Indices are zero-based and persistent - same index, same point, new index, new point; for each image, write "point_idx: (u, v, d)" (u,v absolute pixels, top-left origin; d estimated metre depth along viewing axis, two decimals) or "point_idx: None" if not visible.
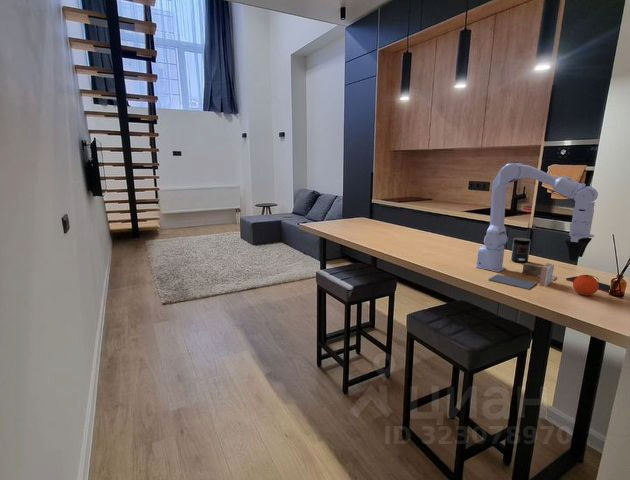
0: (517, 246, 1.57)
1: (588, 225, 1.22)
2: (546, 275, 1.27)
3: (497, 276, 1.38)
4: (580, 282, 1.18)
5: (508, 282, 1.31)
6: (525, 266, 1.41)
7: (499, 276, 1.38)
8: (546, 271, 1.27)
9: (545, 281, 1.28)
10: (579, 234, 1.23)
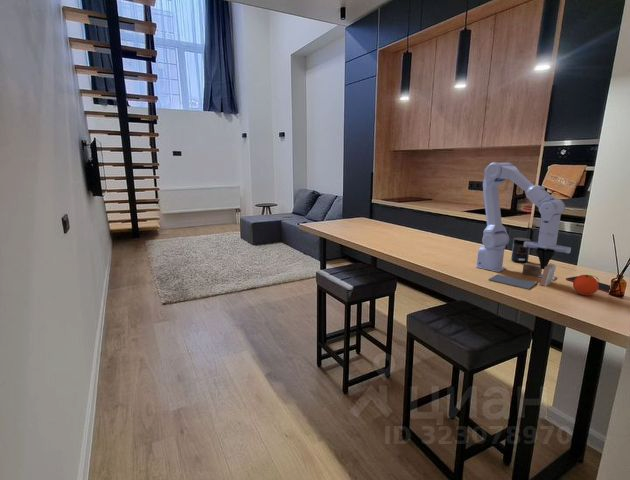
0: (517, 246, 1.57)
1: (541, 235, 1.28)
2: (548, 275, 1.27)
3: (497, 276, 1.38)
4: (580, 282, 1.18)
5: (508, 282, 1.31)
6: (525, 266, 1.41)
7: (499, 276, 1.38)
8: (548, 271, 1.27)
9: (546, 281, 1.28)
10: (537, 243, 1.31)
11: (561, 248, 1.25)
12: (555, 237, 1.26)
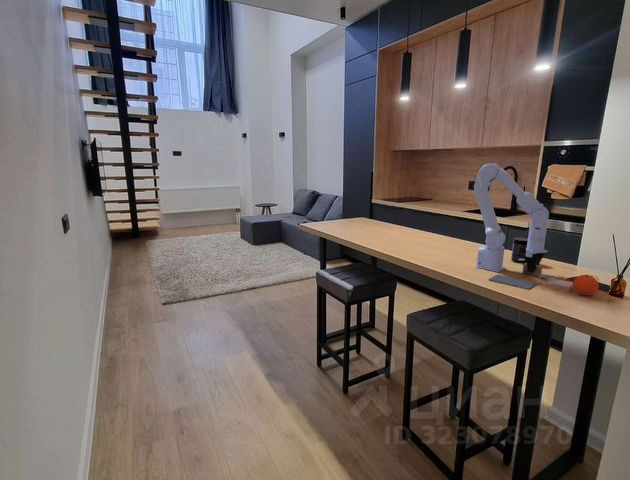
0: (517, 246, 1.57)
1: (541, 242, 1.36)
2: None
3: (497, 276, 1.38)
4: (580, 282, 1.18)
5: (508, 282, 1.31)
6: (525, 266, 1.41)
7: (499, 276, 1.38)
8: (564, 290, 1.24)
9: None
10: (534, 250, 1.37)
11: None
12: None
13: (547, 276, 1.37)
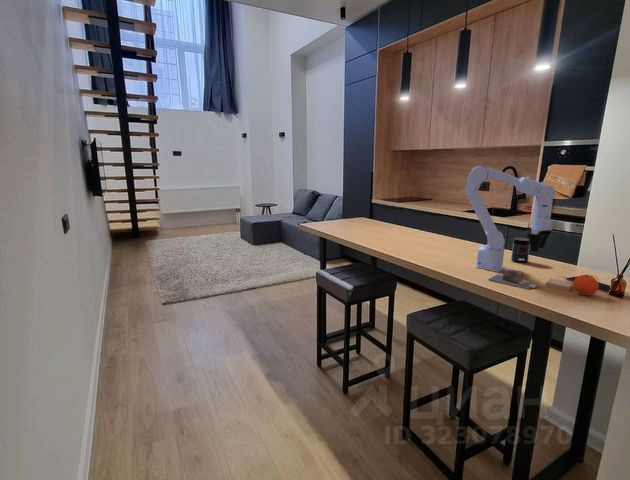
0: (517, 246, 1.57)
1: (547, 219, 1.36)
2: None
3: (497, 276, 1.38)
4: (580, 282, 1.18)
5: (508, 282, 1.31)
6: (505, 272, 1.33)
7: (499, 276, 1.38)
8: None
9: None
10: (539, 227, 1.37)
11: None
12: None
13: (529, 283, 1.28)
